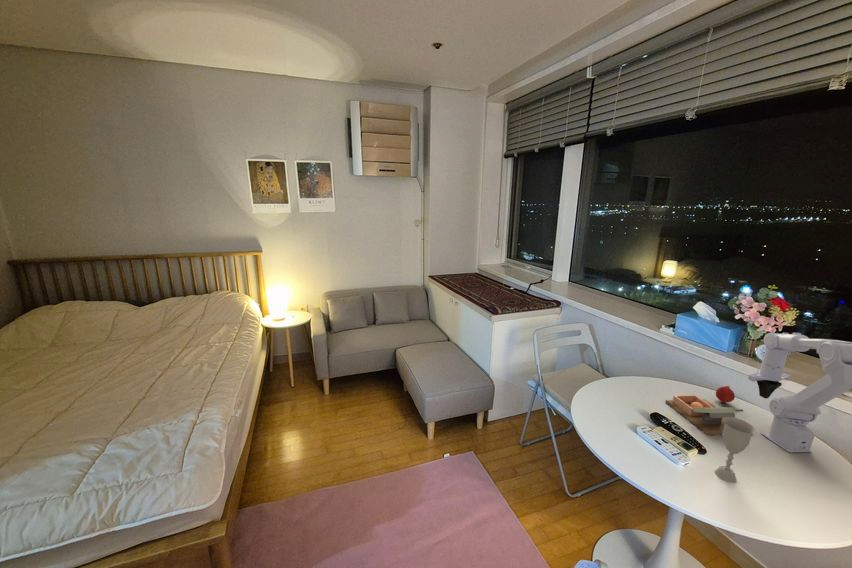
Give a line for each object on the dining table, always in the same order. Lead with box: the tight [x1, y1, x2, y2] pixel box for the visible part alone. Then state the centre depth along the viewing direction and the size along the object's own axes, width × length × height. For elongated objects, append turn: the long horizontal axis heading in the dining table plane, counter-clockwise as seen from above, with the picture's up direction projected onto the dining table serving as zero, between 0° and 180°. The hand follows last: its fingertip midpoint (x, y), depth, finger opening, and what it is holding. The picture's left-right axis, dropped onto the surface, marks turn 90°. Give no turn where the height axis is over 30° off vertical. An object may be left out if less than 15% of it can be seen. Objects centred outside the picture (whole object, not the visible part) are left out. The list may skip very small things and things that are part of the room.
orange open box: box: [672, 394, 713, 416], centre depth 132 cm, size 9×9×3 cm
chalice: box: [714, 417, 756, 484], centre depth 99 cm, size 7×7×18 cm
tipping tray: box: [693, 406, 744, 418], centre depth 123 cm, size 10×18×3 cm
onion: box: [715, 385, 736, 404], centre depth 137 cm, size 6×6×8 cm
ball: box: [690, 402, 703, 408], centre depth 130 cm, size 4×4×4 cm
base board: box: [665, 398, 725, 436], centre depth 128 cm, size 20×17×5 cm
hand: (763, 396), depth 125 cm, fingers closed
